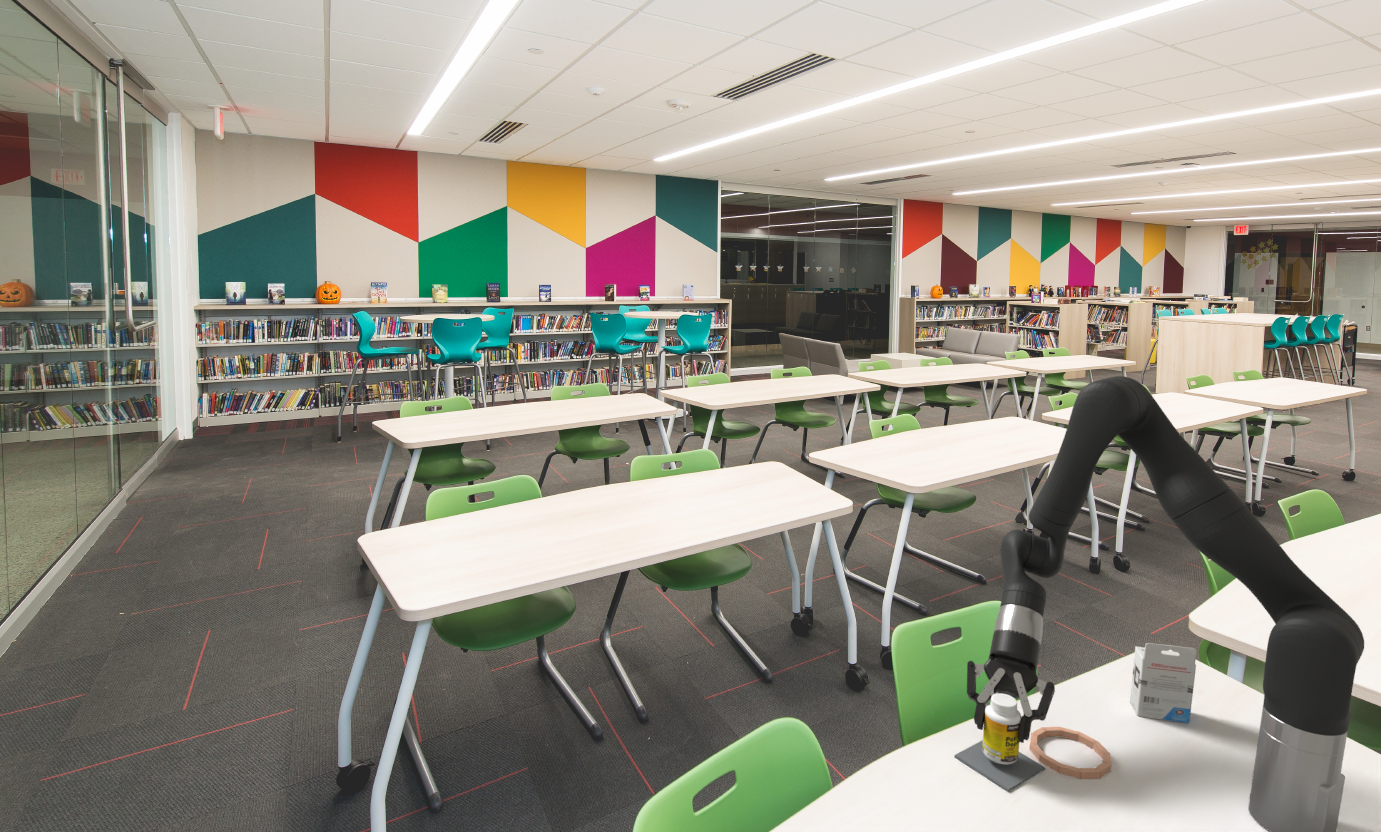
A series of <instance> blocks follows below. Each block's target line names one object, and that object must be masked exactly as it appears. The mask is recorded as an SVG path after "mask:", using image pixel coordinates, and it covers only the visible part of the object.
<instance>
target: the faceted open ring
mask: <svg viewBox="0 0 1381 832" xmlns="http://www.w3.org/2000/svg"><path fill="white" fill-rule="evenodd" d="M1047 737H1049V738H1051V737H1055V738H1056V737H1061V738H1065V739H1068V740H1069V739H1070V740H1073V741H1076V742H1079V743H1081V744H1083V745H1085V746H1087V747H1089V748H1090V749H1093V751H1095V752H1096V754H1097V755H1098V756H1099V757H1100V758H1101V759H1102V763H1101V764H1099V765H1097V766H1096V767H1076V766H1072V765H1069V764H1065V763H1061V762H1059V761H1058V760H1056V759H1054V758H1052V757H1051V756H1049V755H1047V754H1046V753H1045V752H1044V751H1043V750H1042V749H1041V748H1040V746H1039V745H1038V742H1039V741H1040V740H1043V739H1044V738H1047ZM1029 742H1030V743H1029V750H1030V752H1031V753H1032V755H1033V756H1034V757H1035V758H1036V759H1037V762H1038V763H1040V764H1041V765H1042V764H1043V766H1046V767H1048V769H1051V770H1052V771H1054V772H1056V773H1058V774H1062V775H1064V776H1068V777H1072V778H1076V779H1078V780H1089V779H1090V780H1094V779H1098V780H1099V779H1102V778H1103V777H1104V776H1106V775H1107V774H1109V773H1111V771H1112V769H1111V768H1112V757H1111V753H1110V752H1109V750H1108V749H1106V747H1105V746H1104V745H1102V744H1101V742H1099V741H1098V740H1096V739H1095V738H1092V737H1091V736H1089V735H1087V734H1085V733H1083V732H1082V731H1081V732H1080V731H1078V730H1073V729H1071V728H1066V727H1061V726H1043V727H1039V728H1038V729H1036V730H1033V732H1030V741H1029Z"/></svg>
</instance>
